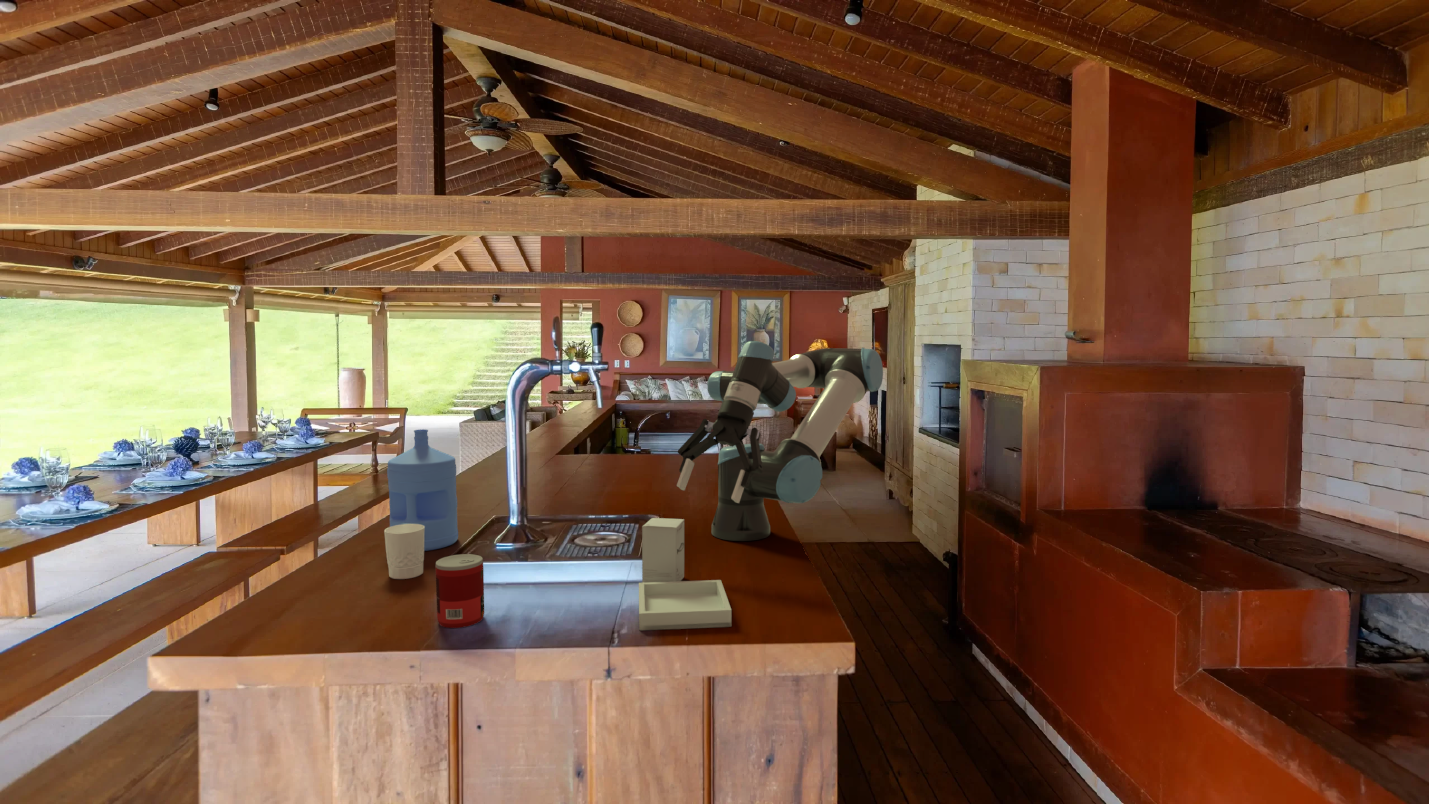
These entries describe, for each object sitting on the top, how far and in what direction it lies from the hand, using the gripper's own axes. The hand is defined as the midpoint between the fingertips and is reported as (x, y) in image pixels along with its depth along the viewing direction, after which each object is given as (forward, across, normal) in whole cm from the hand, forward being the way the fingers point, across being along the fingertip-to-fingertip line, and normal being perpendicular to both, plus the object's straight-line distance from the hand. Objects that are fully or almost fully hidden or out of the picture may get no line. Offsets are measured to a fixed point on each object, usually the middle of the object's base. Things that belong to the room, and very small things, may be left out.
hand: (707, 494), depth 156 cm
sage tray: (+25, +9, -10) cm, 29 cm away
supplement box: (+20, -3, 0) cm, 20 cm away
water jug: (+29, -69, -2) cm, 75 cm away
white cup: (+36, -53, -18) cm, 66 cm away
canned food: (+40, -22, -29) cm, 54 cm away
